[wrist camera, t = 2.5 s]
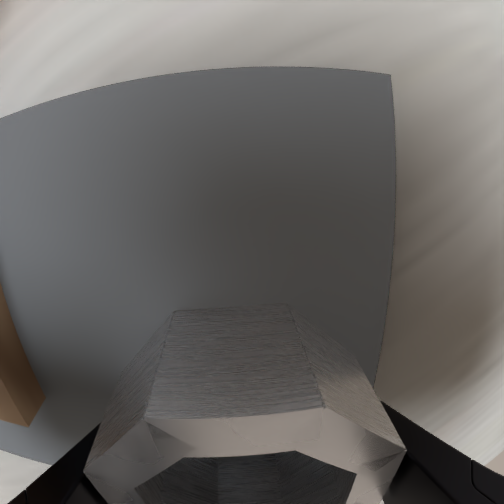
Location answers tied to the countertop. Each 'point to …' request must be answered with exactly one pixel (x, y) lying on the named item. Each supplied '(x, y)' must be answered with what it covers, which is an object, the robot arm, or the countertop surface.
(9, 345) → the tan stamp
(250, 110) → the mat
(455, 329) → the countertop surface
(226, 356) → the collar
